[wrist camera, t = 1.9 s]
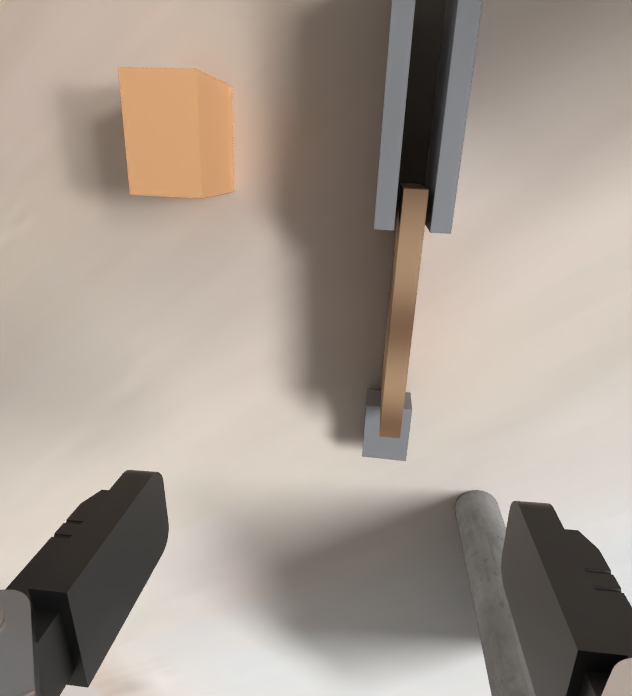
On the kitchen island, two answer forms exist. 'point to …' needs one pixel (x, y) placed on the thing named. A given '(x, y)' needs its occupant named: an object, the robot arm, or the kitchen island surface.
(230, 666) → the kitchen island surface
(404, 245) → the gate
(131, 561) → the robot arm
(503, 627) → the hip flask
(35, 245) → the kitchen island surface
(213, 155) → the orange block
